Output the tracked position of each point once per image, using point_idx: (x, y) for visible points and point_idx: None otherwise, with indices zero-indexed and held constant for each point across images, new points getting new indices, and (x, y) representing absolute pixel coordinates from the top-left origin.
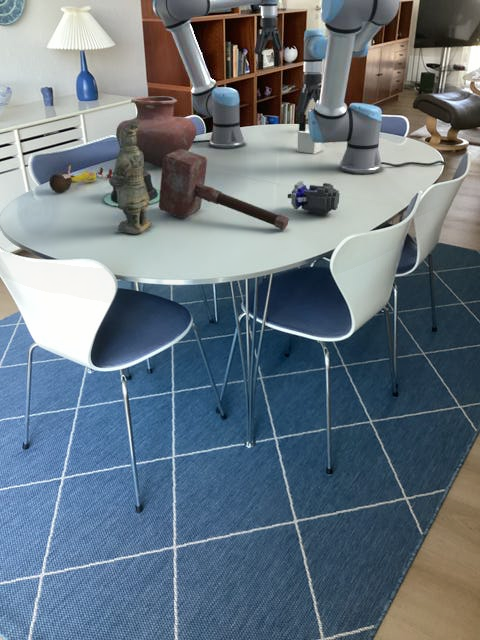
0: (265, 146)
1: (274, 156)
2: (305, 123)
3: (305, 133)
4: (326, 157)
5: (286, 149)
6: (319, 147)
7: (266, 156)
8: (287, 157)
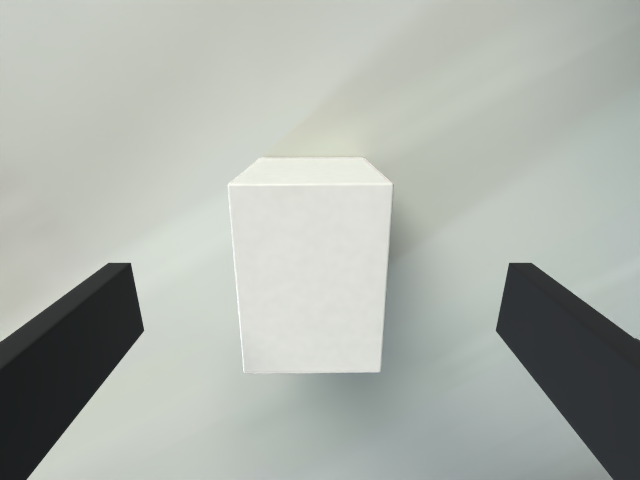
0: (344, 475)
1: None
2: (576, 309)
3: (384, 294)
4: (416, 13)
5: None
6: (285, 161)
7: None
8: (527, 261)
